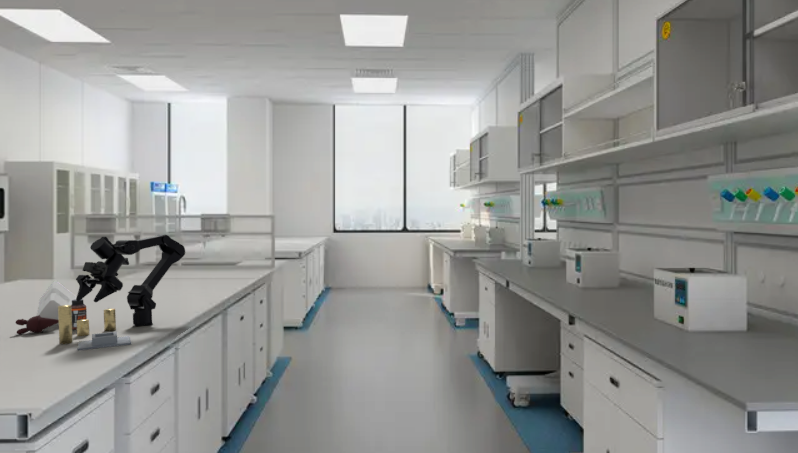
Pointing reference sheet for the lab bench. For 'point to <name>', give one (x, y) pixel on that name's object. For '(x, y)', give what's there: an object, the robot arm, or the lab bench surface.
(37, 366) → the lab bench surface
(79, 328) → the pin short
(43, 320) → the icecream
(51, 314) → the slotted wedge
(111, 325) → the pin mid
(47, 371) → the lab bench surface
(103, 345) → the gauge plate
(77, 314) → the supplement bottle
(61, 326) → the pin long
